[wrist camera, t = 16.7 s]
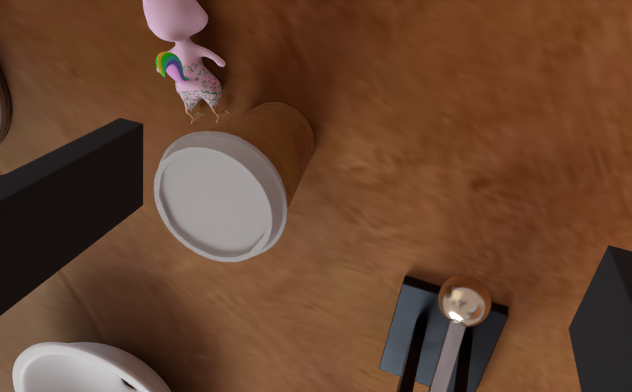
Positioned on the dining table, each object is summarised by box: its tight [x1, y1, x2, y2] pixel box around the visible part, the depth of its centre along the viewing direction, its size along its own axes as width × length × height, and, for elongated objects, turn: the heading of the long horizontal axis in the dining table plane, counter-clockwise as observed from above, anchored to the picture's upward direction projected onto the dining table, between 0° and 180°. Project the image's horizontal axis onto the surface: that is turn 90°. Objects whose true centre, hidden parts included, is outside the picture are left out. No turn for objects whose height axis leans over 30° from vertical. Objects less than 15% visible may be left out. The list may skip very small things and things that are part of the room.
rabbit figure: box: [143, 0, 229, 124], centre depth 41 cm, size 6×6×15 cm
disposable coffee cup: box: [154, 102, 315, 262], centre depth 40 cm, size 10×10×12 cm
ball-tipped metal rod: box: [429, 275, 491, 392], centre depth 39 cm, size 15×4×4 cm, turn 174°
